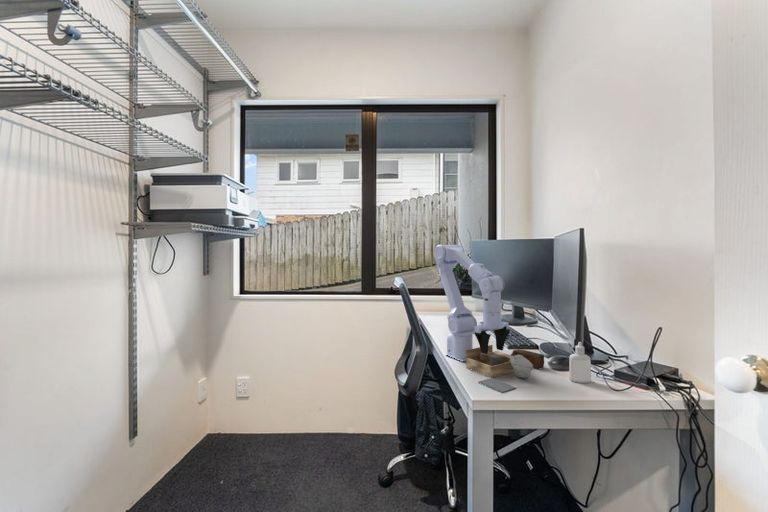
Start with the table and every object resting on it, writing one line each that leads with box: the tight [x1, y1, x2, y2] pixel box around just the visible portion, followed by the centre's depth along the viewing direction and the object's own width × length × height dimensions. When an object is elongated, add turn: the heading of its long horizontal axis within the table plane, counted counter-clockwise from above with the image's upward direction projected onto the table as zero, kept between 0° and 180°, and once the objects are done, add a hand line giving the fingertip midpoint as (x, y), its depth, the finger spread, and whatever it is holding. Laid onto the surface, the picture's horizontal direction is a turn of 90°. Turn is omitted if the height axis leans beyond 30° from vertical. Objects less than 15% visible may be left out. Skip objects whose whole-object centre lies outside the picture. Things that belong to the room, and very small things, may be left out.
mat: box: [478, 377, 517, 394], centre depth 101 cm, size 9×6×1 cm, turn 31°
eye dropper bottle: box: [568, 341, 592, 384], centre depth 104 cm, size 4×6×12 cm
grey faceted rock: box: [510, 355, 534, 379], centre depth 107 cm, size 6×7×7 cm
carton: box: [465, 344, 515, 378], centre depth 116 cm, size 11×16×6 cm
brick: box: [510, 349, 545, 370], centre depth 119 cm, size 11×4×5 cm, turn 35°
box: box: [480, 351, 505, 366], centre depth 115 cm, size 7×4×5 cm, turn 31°
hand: (492, 351), depth 115 cm, fingers open, 7 cm apart
